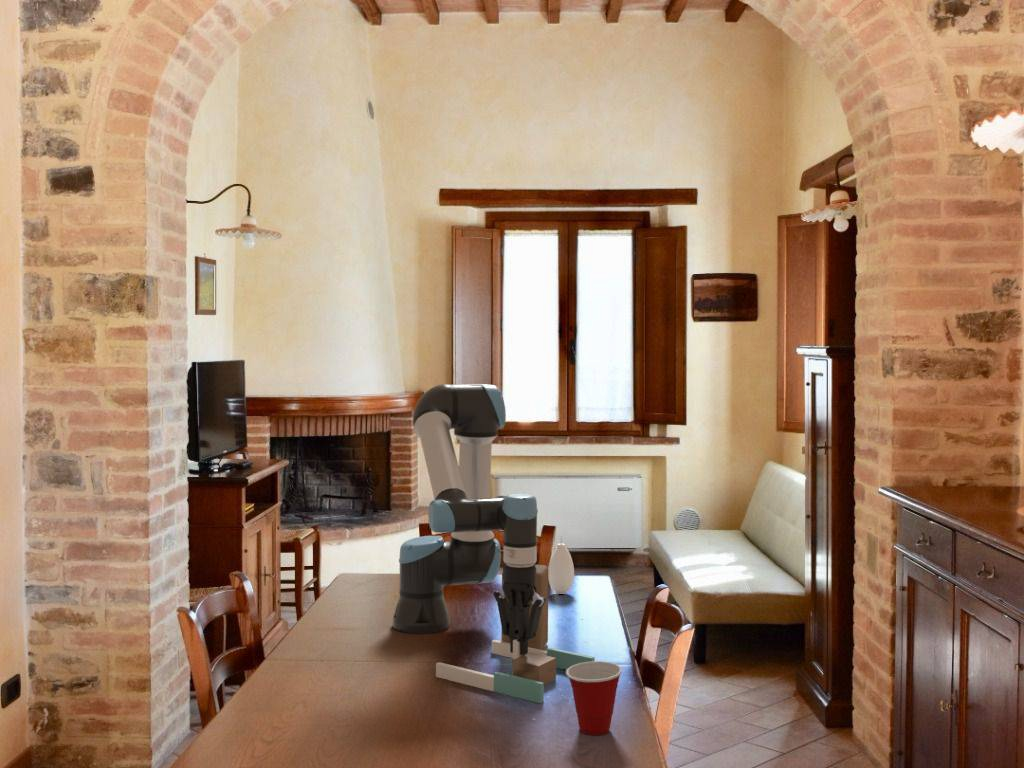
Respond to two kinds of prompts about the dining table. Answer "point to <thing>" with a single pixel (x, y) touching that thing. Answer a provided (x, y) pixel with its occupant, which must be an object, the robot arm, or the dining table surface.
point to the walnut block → (535, 667)
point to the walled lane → (509, 682)
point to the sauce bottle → (561, 570)
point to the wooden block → (542, 591)
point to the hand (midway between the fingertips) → (518, 667)
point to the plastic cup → (594, 694)
